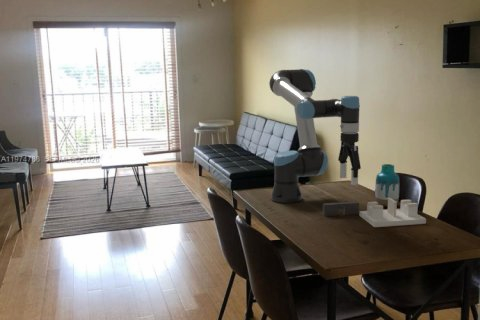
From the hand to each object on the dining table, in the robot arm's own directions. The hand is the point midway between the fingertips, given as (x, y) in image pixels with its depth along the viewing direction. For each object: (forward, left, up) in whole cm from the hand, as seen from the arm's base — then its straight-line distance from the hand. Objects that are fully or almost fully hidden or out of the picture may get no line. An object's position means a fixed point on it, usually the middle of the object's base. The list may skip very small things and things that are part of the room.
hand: (348, 181), depth 216 cm
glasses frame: (-1, -3, -15) cm, 15 cm away
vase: (-9, +22, -15) cm, 28 cm away
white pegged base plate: (+11, +15, -15) cm, 24 cm away
